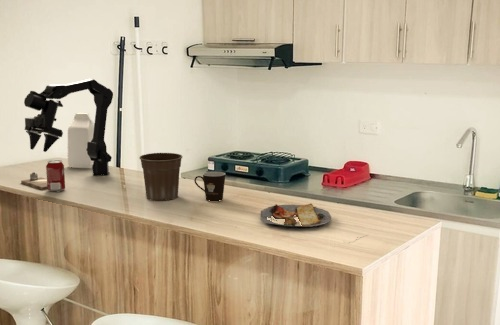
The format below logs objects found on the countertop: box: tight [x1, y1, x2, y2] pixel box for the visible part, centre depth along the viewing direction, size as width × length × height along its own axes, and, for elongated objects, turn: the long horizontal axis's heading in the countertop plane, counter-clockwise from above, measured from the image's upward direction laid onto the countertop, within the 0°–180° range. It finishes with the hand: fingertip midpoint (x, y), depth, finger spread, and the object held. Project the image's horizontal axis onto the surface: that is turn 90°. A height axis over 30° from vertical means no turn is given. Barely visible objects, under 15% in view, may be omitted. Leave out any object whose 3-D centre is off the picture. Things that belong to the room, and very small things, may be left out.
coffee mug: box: [193, 171, 226, 202], centre depth 213 cm, size 12×9×10 cm
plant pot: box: [139, 152, 183, 202], centre depth 214 cm, size 16×16×16 cm
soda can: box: [45, 159, 66, 193], centre depth 225 cm, size 7×7×12 cm
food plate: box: [260, 203, 332, 228], centre depth 187 cm, size 25×23×4 cm
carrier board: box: [20, 172, 48, 191], centre depth 235 cm, size 18×9×4 cm, turn 48°
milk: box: [67, 112, 95, 169], centre depth 275 cm, size 12×12×26 cm
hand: (38, 150), depth 229 cm, fingers open, 9 cm apart
